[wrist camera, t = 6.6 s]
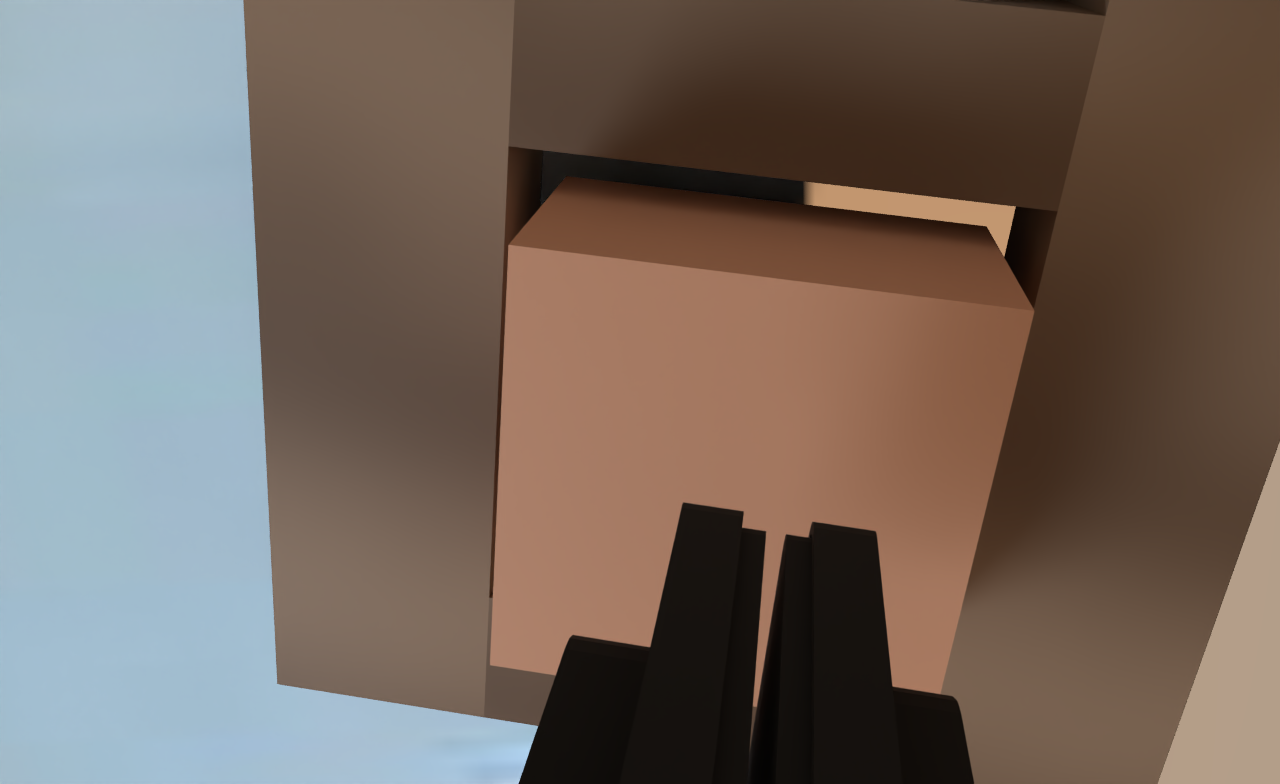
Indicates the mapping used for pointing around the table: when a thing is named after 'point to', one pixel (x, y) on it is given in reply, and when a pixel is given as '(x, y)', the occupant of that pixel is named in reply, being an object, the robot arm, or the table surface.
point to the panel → (804, 151)
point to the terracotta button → (743, 405)
